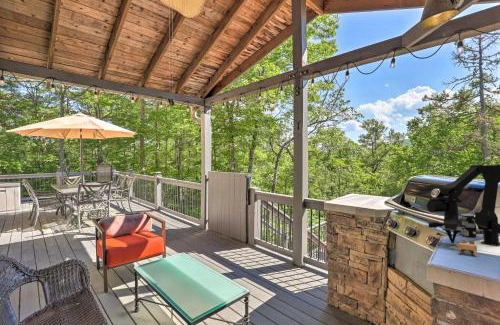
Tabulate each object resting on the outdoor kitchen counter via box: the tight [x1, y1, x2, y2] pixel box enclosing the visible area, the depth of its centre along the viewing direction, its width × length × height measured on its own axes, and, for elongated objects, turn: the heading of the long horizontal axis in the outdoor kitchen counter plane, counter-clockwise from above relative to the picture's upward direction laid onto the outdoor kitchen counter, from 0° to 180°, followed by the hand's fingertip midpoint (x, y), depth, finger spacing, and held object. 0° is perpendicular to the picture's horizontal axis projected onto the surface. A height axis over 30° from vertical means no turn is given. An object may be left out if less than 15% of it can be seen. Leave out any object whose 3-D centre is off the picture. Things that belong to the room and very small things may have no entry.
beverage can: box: [459, 213, 477, 239], centre depth 146 cm, size 7×7×12 cm
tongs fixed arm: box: [461, 240, 476, 257], centre depth 124 cm, size 20×4×2 cm, turn 139°
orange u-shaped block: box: [456, 242, 478, 257], centre depth 118 cm, size 3×6×4 cm, turn 49°
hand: (452, 243), depth 131 cm, fingers closed
